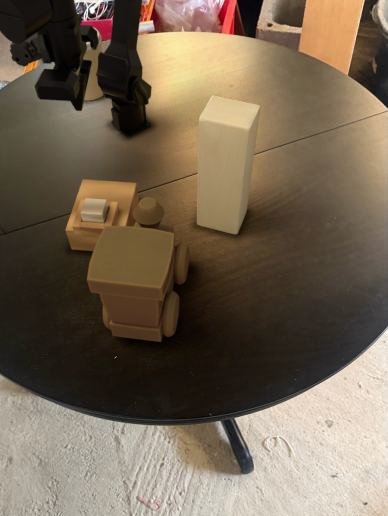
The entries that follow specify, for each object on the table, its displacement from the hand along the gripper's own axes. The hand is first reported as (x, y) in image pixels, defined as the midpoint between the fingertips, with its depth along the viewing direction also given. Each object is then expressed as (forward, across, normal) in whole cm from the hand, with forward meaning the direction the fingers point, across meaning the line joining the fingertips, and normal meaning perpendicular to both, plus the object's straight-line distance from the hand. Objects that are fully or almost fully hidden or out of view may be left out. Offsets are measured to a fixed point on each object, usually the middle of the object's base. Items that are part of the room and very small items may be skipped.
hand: (79, 109), depth 86 cm
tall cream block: (+12, +12, +28) cm, 32 cm away
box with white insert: (+12, +16, +6) cm, 21 cm away
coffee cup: (+12, -26, -6) cm, 30 cm away
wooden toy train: (+12, +32, +17) cm, 39 cm away
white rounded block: (+6, +20, +6) cm, 22 cm away
